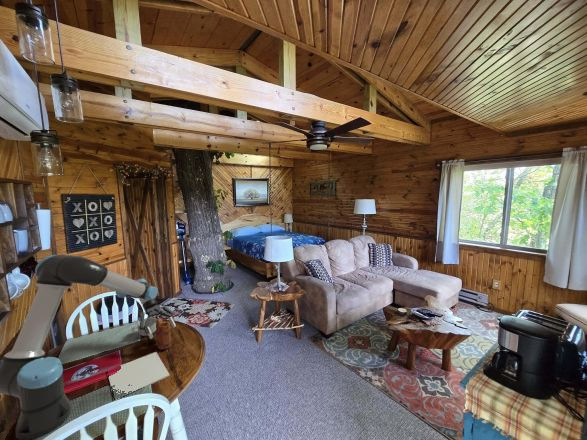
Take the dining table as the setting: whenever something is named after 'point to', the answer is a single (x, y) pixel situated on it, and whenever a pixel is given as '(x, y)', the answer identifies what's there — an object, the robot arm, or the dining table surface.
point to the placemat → (139, 373)
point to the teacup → (151, 325)
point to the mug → (163, 334)
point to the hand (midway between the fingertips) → (163, 332)
